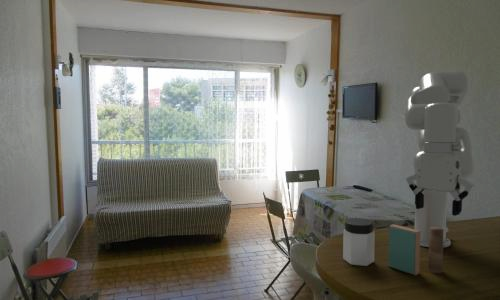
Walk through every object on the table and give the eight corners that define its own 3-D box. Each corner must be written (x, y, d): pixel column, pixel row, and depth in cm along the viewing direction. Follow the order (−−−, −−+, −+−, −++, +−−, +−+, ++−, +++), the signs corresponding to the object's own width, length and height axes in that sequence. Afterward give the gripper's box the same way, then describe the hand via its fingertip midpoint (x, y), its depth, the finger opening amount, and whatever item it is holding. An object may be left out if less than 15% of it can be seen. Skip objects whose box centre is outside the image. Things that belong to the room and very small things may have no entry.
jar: (379, 264, 105) (380, 224, 104) (354, 267, 103) (354, 226, 102) (362, 253, 113) (362, 216, 112) (339, 256, 111) (339, 218, 110)
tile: (392, 264, 105) (393, 224, 104) (419, 273, 99) (420, 230, 98) (387, 266, 103) (388, 225, 102) (414, 275, 97) (415, 232, 96)
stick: (431, 267, 102) (433, 226, 101) (444, 271, 100) (445, 228, 99) (426, 270, 100) (427, 228, 99) (438, 274, 98) (440, 231, 97)
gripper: (480, 149, 93) (477, 215, 94) (414, 147, 106) (413, 204, 107) (468, 151, 88) (465, 220, 89) (401, 148, 102) (400, 207, 103)
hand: (437, 211), depth 98 cm, fingers open, 9 cm apart
